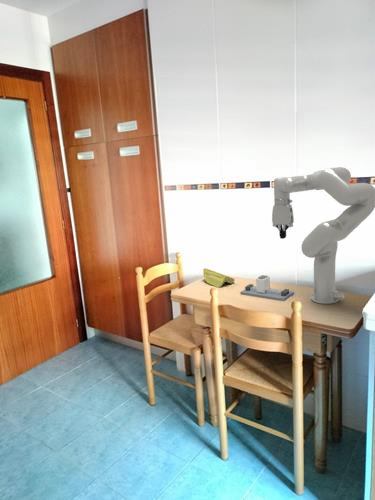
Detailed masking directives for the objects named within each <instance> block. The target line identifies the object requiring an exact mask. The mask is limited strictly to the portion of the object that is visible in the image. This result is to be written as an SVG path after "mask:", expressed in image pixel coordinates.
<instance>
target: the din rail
mask: <svg viewBox="0 0 375 500" xmlns="http://www.w3.org/2000/svg"><path fill="white" fill-rule="evenodd" d="M271 288H272V287H270V288H268V289H267V290H265V293H270V294H276V295H281V296H286V295H288V294H289V291H290V289H287V288H284V289H279V290H278V289H277V288H272V289H271ZM244 290H246V291H249V290H250V291H256V292H257V289H256V285H254V284H253V283H249V284H247V285H246V286H245V287H244Z"/></svg>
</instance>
